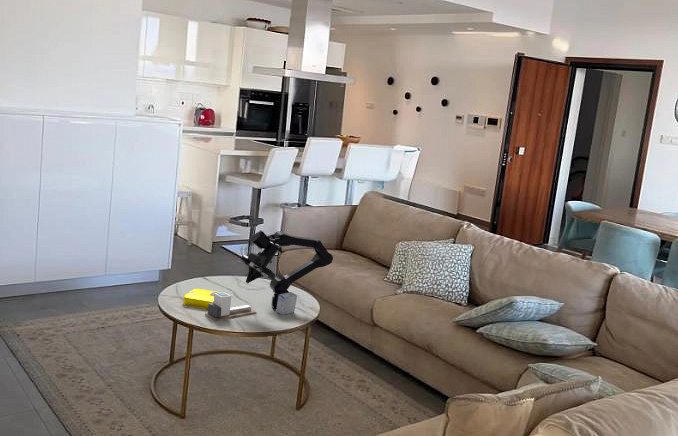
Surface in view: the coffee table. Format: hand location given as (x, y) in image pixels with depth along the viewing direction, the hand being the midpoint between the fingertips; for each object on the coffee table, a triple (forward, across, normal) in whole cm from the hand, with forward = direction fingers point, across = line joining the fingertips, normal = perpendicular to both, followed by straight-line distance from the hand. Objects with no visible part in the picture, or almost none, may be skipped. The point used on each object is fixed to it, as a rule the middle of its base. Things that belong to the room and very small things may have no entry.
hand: (246, 282), depth 310 cm
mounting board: (+15, +2, +1) cm, 16 cm away
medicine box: (0, +14, +19) cm, 23 cm away
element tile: (+18, -16, +4) cm, 24 cm away
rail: (+15, +2, +1) cm, 15 cm away
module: (+18, +2, -4) cm, 18 cm away
